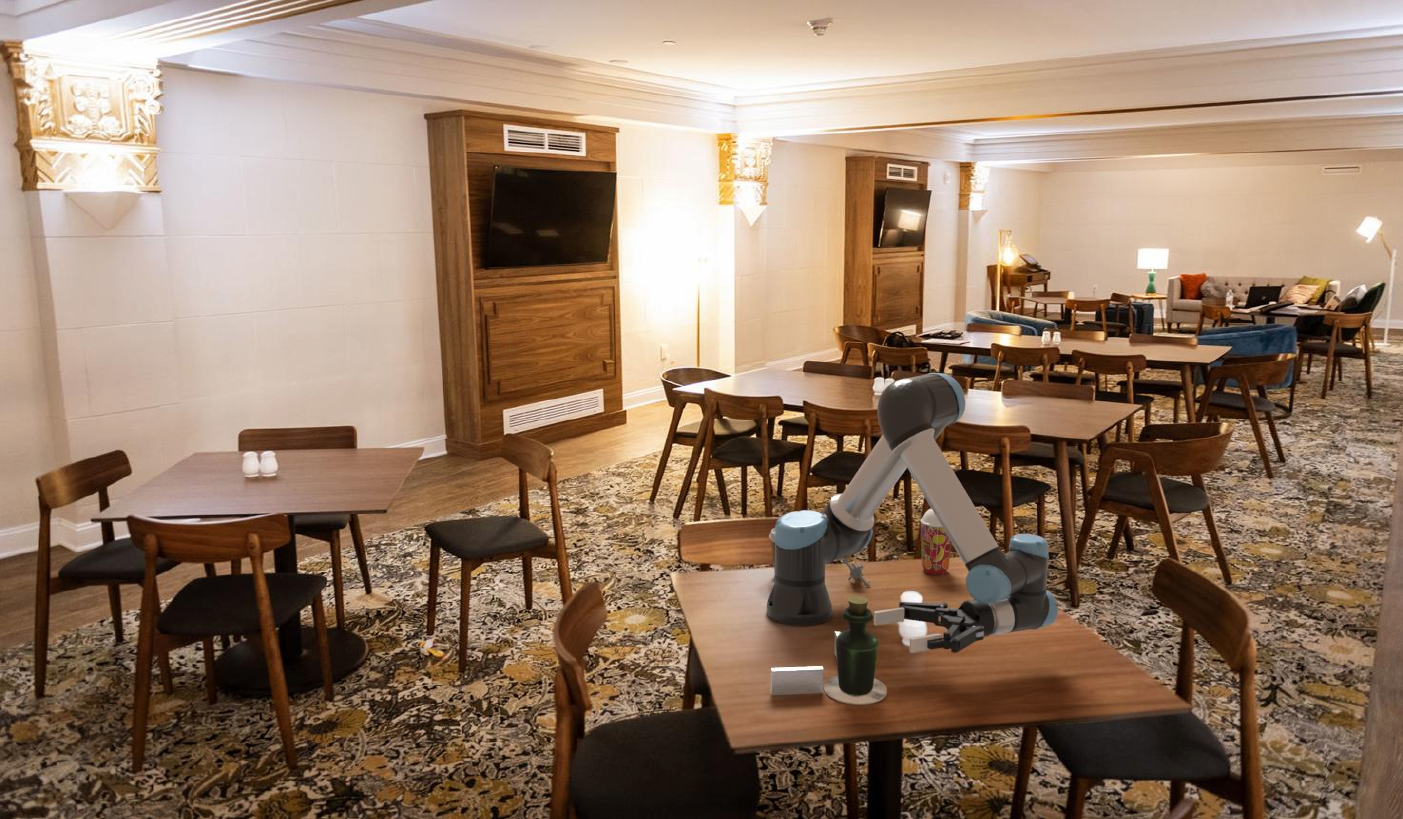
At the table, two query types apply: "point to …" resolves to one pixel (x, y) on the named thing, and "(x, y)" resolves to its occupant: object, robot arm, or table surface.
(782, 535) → the robot arm
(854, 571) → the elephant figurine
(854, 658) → the potion bottle
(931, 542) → the smoothie
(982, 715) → the table surface
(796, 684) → the shiny disc with plates
